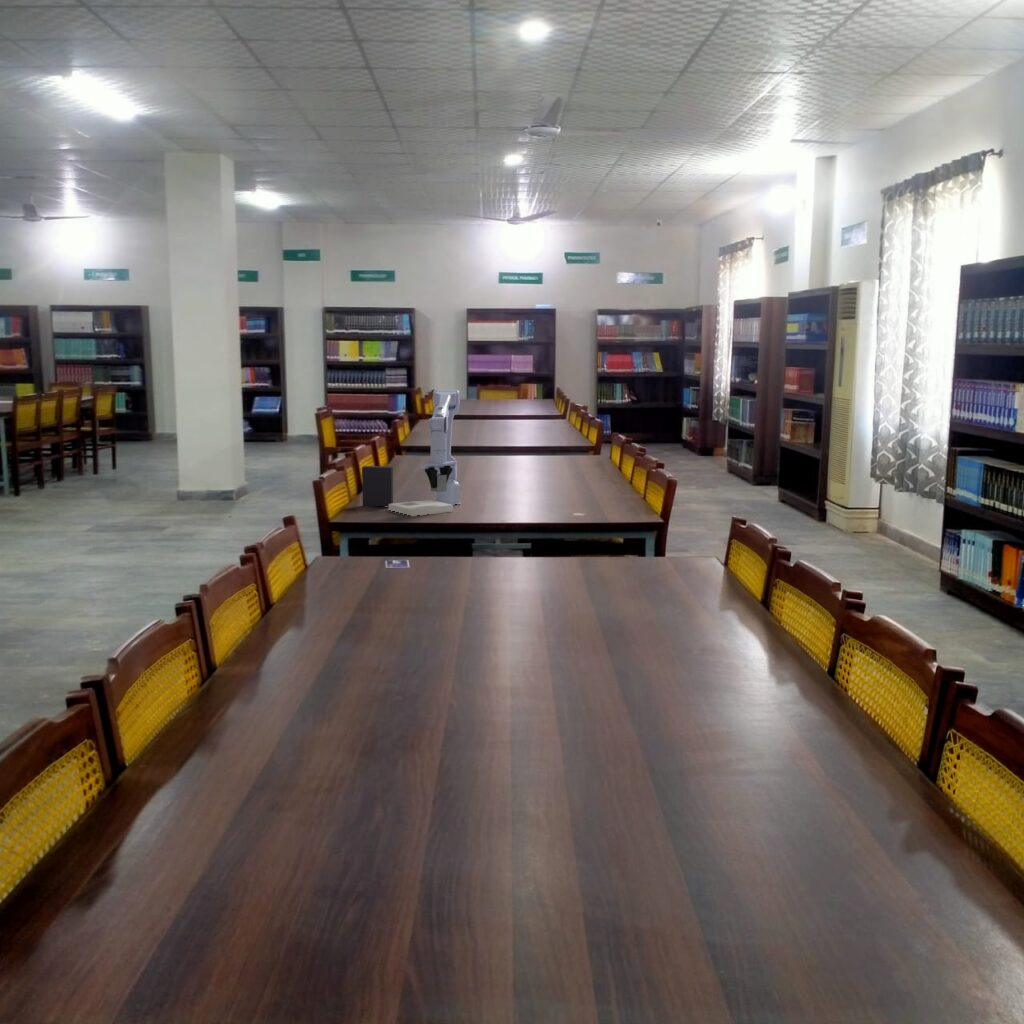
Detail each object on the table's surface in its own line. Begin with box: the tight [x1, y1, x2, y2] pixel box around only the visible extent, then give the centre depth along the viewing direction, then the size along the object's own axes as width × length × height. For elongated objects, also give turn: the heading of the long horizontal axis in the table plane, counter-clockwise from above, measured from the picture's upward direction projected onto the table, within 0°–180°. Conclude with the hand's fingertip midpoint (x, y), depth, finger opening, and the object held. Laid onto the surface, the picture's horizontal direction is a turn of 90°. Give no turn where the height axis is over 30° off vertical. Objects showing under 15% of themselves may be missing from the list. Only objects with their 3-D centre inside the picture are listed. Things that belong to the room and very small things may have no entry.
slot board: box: [388, 499, 454, 517], centre depth 352 cm, size 18×15×2 cm
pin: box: [430, 474, 447, 493], centre depth 351 cm, size 4×4×6 cm
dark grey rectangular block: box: [361, 465, 394, 508], centre depth 360 cm, size 11×4×15 cm, turn 84°
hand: (438, 487), depth 351 cm, fingers closed on pin, 4 cm apart
